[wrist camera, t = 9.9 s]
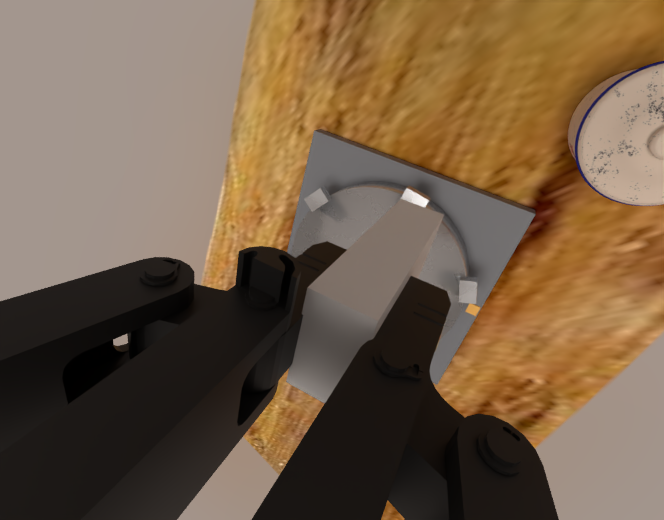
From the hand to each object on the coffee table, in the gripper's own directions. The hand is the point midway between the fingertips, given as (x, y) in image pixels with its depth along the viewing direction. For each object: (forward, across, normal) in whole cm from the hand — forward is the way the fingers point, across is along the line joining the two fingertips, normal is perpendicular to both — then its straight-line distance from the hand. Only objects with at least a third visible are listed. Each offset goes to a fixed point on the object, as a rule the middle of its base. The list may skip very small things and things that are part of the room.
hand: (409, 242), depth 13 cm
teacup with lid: (+29, +12, +4) cm, 31 cm away
